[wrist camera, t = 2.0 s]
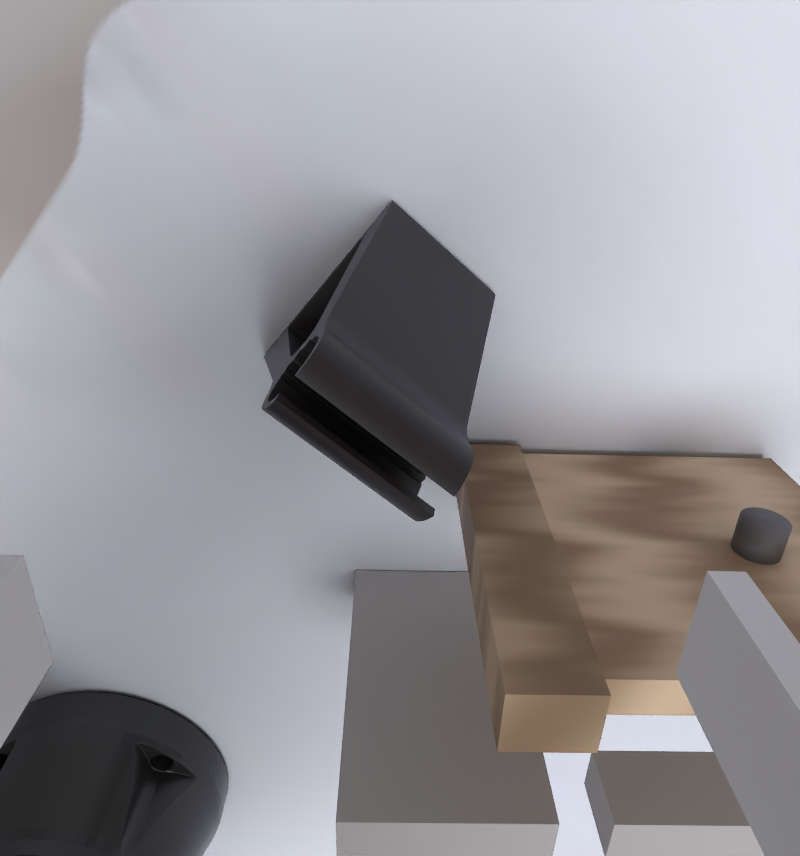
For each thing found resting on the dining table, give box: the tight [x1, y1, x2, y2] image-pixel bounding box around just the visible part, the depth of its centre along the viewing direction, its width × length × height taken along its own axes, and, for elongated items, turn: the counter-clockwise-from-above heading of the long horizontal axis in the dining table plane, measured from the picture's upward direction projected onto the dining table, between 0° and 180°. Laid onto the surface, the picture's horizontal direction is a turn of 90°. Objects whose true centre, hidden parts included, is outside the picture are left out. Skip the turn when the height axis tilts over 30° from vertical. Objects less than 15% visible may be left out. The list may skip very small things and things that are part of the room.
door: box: [456, 444, 800, 753], centre depth 26 cm, size 16×3×15 cm, turn 88°
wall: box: [336, 570, 764, 856], centre depth 30 cm, size 32×2×14 cm, turn 88°
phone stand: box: [262, 201, 495, 521], centre depth 24 cm, size 9×6×12 cm, turn 138°
